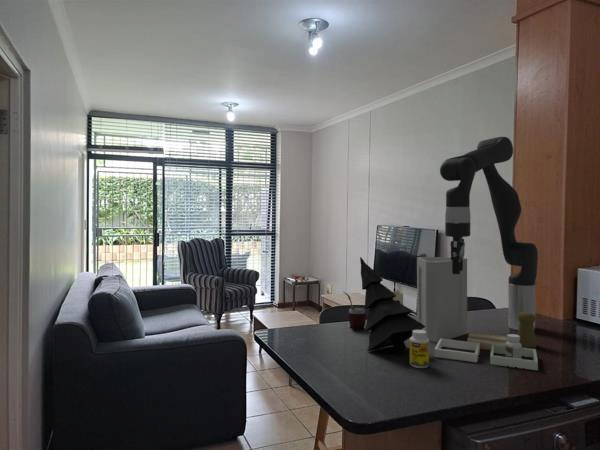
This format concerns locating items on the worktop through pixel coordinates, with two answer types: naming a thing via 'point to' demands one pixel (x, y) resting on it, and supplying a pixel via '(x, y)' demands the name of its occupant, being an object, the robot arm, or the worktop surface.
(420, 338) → the supplement bottle
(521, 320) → the cork
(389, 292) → the decorative tree
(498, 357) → the sage tray
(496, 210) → the robot arm
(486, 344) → the birch board
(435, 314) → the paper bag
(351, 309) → the mate gourd
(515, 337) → the pill bottle
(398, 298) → the character mug
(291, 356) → the worktop surface
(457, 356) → the offwhite tray
